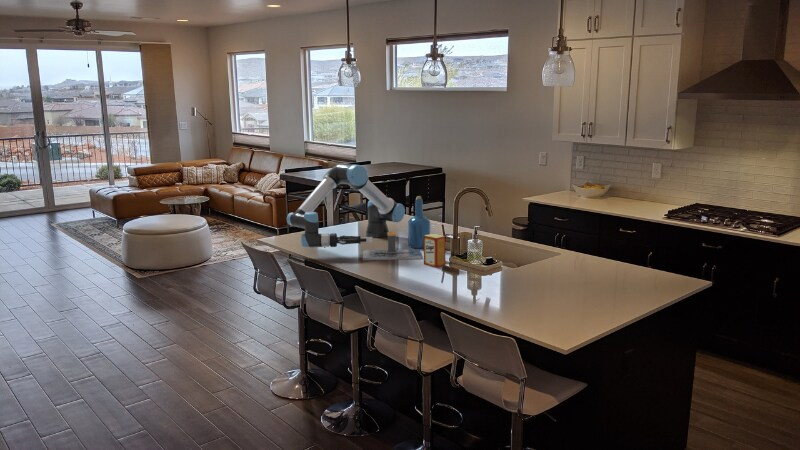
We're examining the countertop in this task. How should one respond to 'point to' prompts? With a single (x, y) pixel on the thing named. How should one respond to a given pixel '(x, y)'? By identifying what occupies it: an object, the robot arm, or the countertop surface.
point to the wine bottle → (418, 226)
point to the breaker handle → (391, 243)
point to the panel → (391, 254)
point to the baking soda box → (434, 250)
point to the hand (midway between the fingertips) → (372, 239)
